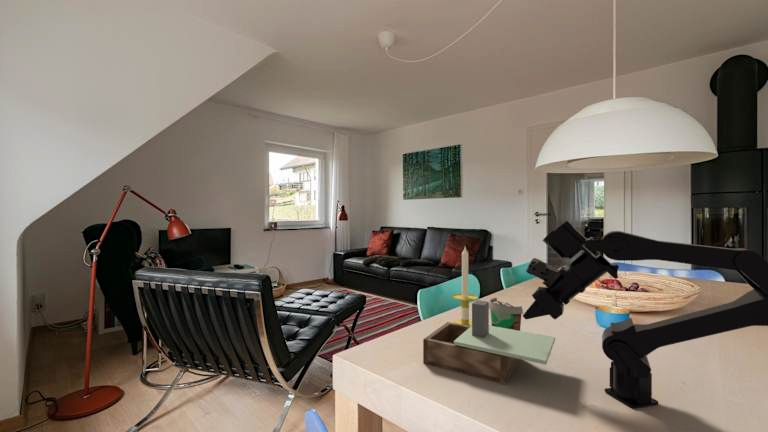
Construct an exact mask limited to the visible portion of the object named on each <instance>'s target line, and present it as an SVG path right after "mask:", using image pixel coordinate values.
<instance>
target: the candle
mask: <svg viewBox="0 0 768 432" xmlns="http://www.w3.org/2000/svg"><path fill="white" fill-rule="evenodd" d="M451 298H452V299H454V300H457V301H460V302H461V303H460V308H461V310H460V311H461V313H460V315H461V316H460V317H461V319H460V320H454V321H450V322H451V323H456V324H462V325H467V326H472V320H471V321H470V302H473V301H474V302H475V301H476V300H479V296H477V295H475V294H469V251H468V250H467V247H466V246H464V249H463V251H462V252H461V293H455V294H453V295H452V296H451Z"/></svg>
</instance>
